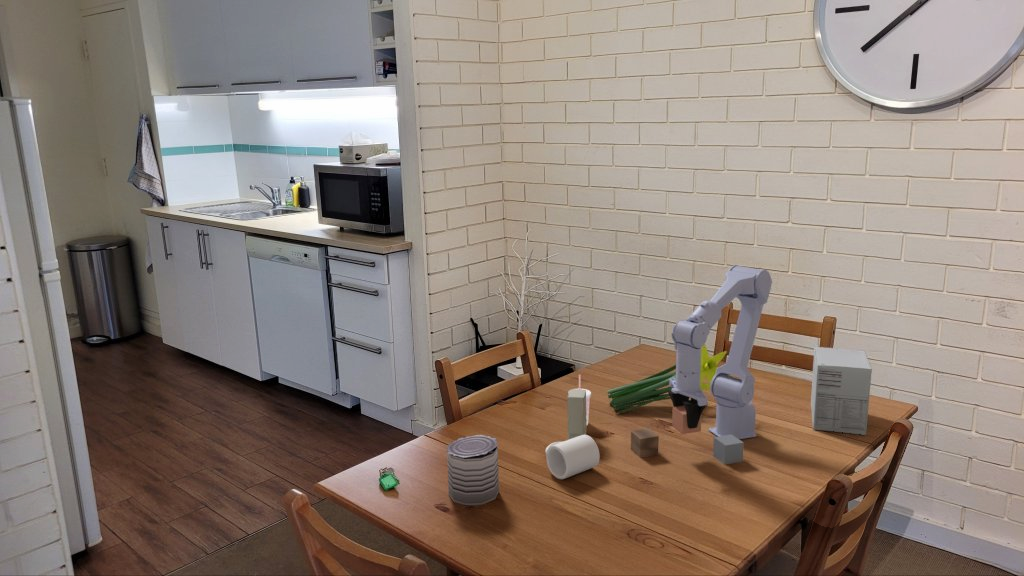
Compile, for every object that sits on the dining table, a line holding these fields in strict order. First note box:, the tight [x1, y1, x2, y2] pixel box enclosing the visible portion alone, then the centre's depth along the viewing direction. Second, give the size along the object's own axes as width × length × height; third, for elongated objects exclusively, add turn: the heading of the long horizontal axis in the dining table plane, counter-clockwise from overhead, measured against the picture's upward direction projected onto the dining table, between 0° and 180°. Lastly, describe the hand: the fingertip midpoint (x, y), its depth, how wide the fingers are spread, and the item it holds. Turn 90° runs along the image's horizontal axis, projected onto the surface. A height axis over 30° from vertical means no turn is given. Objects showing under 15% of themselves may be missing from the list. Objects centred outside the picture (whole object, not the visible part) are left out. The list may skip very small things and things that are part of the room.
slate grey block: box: [712, 434, 745, 465], centre depth 182 cm, size 5×5×5 cm
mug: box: [544, 434, 600, 480], centre depth 179 cm, size 12×10×8 cm
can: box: [446, 434, 500, 506], centre depth 168 cm, size 11×11×12 cm
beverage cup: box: [567, 374, 592, 426], centre depth 204 cm, size 6×6×14 cm
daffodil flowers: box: [606, 343, 732, 414], centre depth 214 cm, size 17×15×35 cm
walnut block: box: [630, 427, 660, 458], centre depth 187 cm, size 5×5×5 cm
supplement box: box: [810, 346, 873, 436], centre depth 202 cm, size 17×13×18 cm
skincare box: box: [566, 388, 588, 440], centre depth 196 cm, size 6×4×12 cm
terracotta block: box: [671, 406, 703, 435], centre depth 183 cm, size 5×5×5 cm
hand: (686, 423), depth 183 cm, fingers closed on terracotta block, 5 cm apart
